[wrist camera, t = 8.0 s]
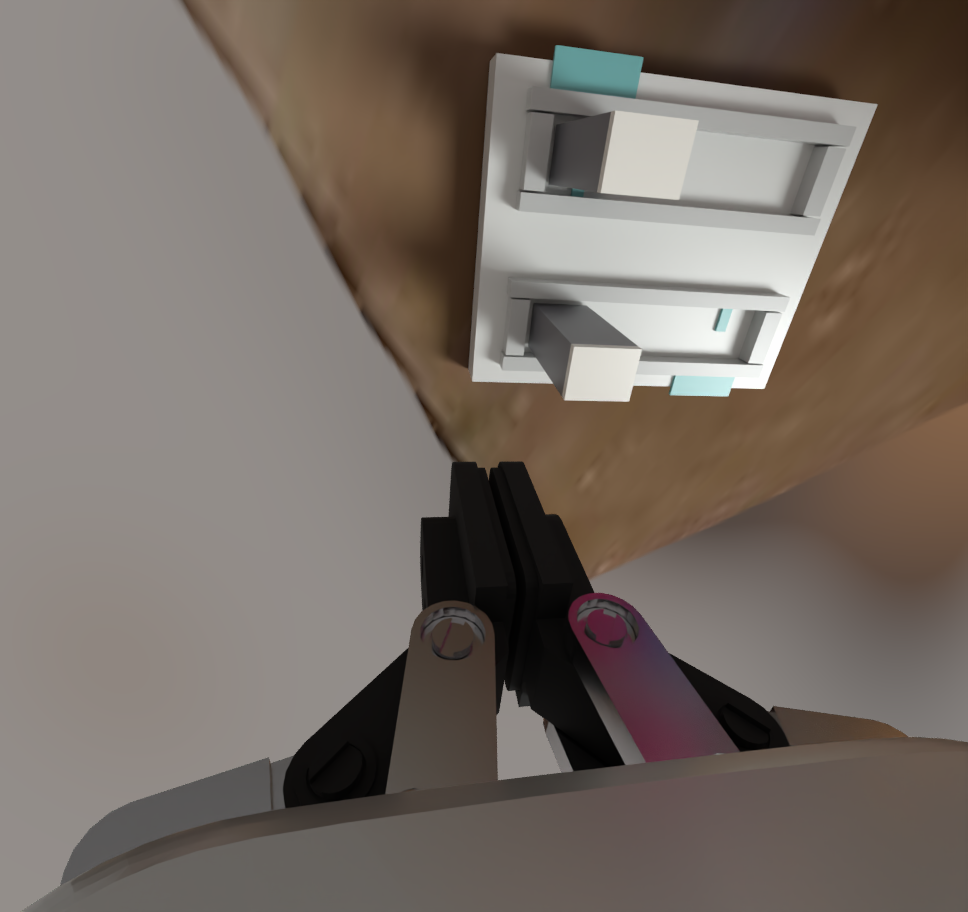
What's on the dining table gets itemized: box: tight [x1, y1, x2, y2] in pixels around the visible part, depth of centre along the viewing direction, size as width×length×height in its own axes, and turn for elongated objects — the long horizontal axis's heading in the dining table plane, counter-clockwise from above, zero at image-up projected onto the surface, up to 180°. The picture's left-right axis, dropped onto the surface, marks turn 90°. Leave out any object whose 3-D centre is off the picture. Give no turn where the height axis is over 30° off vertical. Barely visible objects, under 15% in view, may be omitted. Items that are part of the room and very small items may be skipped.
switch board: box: [468, 45, 878, 396], centre depth 27 cm, size 19×16×3 cm
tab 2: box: [528, 303, 642, 401], centre depth 24 cm, size 3×2×7 cm
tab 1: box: [548, 110, 699, 200], centre depth 20 cm, size 3×2×7 cm
